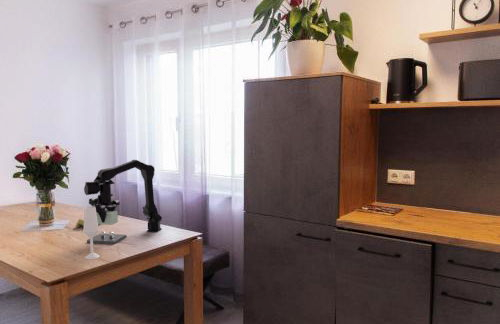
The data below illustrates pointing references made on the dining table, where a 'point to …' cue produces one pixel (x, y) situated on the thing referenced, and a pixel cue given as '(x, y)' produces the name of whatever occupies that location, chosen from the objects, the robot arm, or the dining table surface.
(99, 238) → the base plate
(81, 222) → the yellow banana
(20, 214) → the dining table surface
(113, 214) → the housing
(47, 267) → the dining table surface
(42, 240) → the dining table surface
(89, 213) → the champagne flute
